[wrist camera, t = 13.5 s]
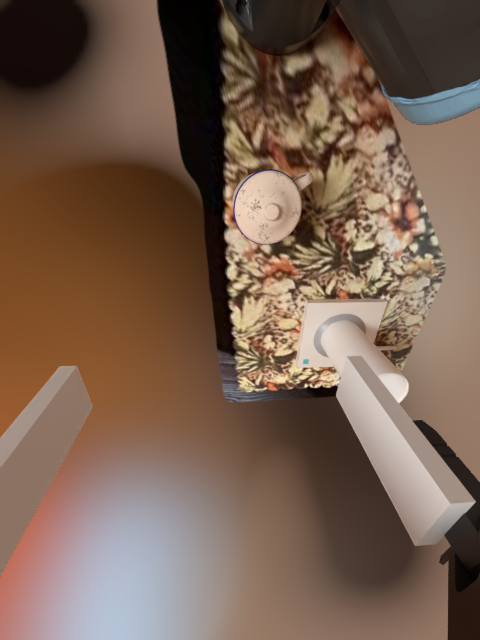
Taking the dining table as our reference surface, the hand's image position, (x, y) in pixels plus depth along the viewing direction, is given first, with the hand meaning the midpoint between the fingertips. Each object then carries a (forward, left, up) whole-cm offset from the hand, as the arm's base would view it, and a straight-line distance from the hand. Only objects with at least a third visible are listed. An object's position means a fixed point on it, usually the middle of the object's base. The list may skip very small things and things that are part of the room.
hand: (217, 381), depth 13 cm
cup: (+20, +25, -33) cm, 46 cm away
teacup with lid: (-6, +8, -35) cm, 36 cm away
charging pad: (+20, +28, -35) cm, 49 cm away
